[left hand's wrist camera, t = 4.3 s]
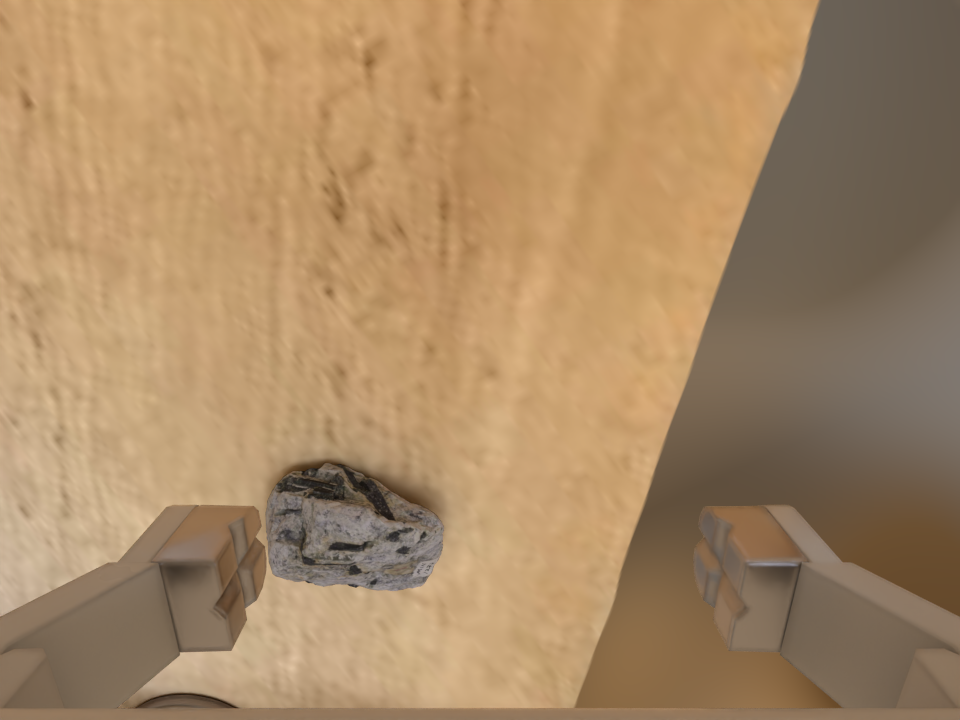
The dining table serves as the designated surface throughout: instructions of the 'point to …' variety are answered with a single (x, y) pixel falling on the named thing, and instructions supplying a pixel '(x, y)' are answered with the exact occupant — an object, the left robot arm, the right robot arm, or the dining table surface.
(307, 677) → the dining table surface
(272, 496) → the rock
